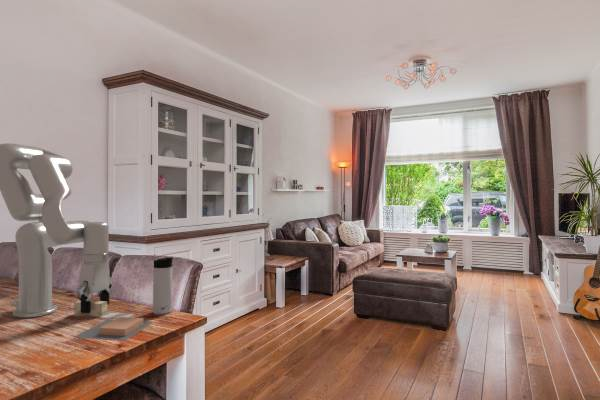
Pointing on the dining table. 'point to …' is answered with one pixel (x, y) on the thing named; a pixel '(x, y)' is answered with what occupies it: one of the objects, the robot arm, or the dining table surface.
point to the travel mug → (162, 286)
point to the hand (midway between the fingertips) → (95, 308)
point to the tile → (121, 326)
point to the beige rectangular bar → (98, 310)
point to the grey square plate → (95, 334)
